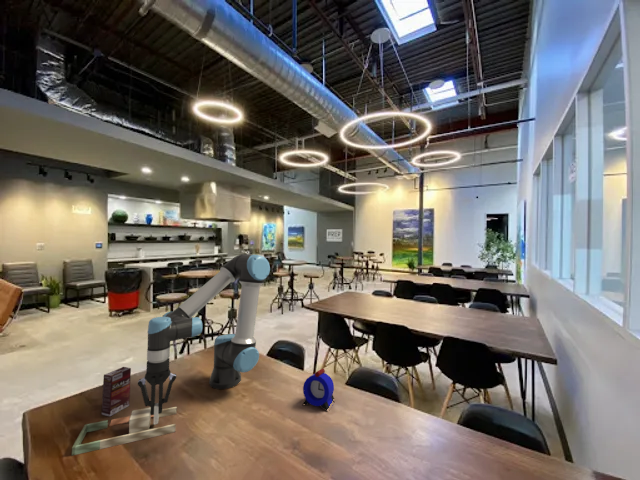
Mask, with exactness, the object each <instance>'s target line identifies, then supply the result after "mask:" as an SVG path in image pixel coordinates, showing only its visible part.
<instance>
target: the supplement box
mask: <svg viewBox="0 0 640 480" xmlns="http://www.w3.org/2000/svg"><path fill="white" fill-rule="evenodd" d="M131 371H132V368H131V367H126V366H122V367H120V368H117V369H114V370H112V371H110V372H108V373H105V374H103V384H102V399H101V401H102V402H101V415H102V416H106V417H111V416H113V415H115V414H117V413H120V411H121V410H124V409H126V408H127V407H129V406H130V393H131V375H132V373H131Z"/></svg>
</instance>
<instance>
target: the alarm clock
mask: <svg viewBox="0 0 640 480" xmlns="http://www.w3.org/2000/svg"><path fill="white" fill-rule="evenodd" d="M334 386H335V385H334V381H333V379H332V377H331V376H330V375H328V373H326V370H325V368H321V369H319V370H317V371H316V372H314V373H313V374H312V375H310V376H309V377H307V378H306V379H305V381H304V382H303V386H302V393H303V396H304V399H305V400H304V401H303V403H302V405H303V404H305V405H304V406H307V405H312V406H314V407H320V408H321V409H323V410H325V409H326V410H327V409H328V408H329V406H330V404H331V403H332V401H333V399H335V398H334V391H335V387H334ZM326 410H325V411H326Z"/></svg>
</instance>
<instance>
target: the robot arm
mask: <svg viewBox="0 0 640 480" xmlns="http://www.w3.org/2000/svg"><path fill="white" fill-rule="evenodd" d="M219 269H220V270H219V271H218V272H217V273H216V274H215V275H214V276H212V278H210V279H209V280H208V281H206V283H205V284H203V286H201V287H200V288H199V289H198V290H196V291H195V292H194V293H193V294H192V295H190V297H188V298H187V299H186V300H185V301H184V302H183V303H181V304H180V305H179V306H178V307H176V309H174V310H173V311H168V312H166V313H164V314H163V315H162V316H158V317H157V316H156V317H153V318H151V319H150V320H149V321H148V327H147V349H146V373H145V374H144V377H142V378H139V379H138V381H137V386H138V387H139V388H140V390H141V395H142V398H143V403H144V406H145V407H149V408H150V407H151V413H150V414H151V415H154V417H153V425H154V426H155V425H158V424H159V418H160V417H159V414H160V413H162V409H163V405H164V404H165V403H168V402H169V401H168V400H169V398H170V394H171V390H172V387H173V383H174V382H175V381H176V379H177V374H176V373H172V372H171V370H170V355H171V342H173V341H174V342H175V341H178V340H184V339H189V338H193V337H197V336H199V335H201V334H202V332H203V321H202V319H201V317H198V316H197V317H196V316H195V315H196V314H197V313H199V312H200V311H201V310H202V309H203V308H204V307H205V306H206V305H207V304H208V303H209V302H210V301H211V300H213V299H214V298H215V297H216V296H217V295H218V294H219V293H220V292H221V291H223V289H225V288H226V287H227V286H228V285H229V284H230V283H234V282H235V281H237V280H238V279H239V280H238V281H239V283H240V285H241V288H240V296H239V297H240V298H239V304H238V311H237V318H236V324H235V325H236V327H235V333H229V334H222V335H219V336H216V337H215V338H214V342H213V343H214V344H213V349H214V350H213V368H212V370H211V371H212V372H211V373H210V377H209V382H208V383H209V384H210V385H209V386H210V387H211V388H212V387H213V388H212V389H215V388H216V389H217V390H226V388H227V389H231V388H234V387H236V386H238V385H239V384H240V383H241V382H240V381H242V374H241V373H247V372H249V371H251V370H253V368H255V366H256V365H257V363H258V362H259V360H260V353H259V350H258V348H256V345H257V340H256V338H255V337H254V336H255V335H254V334H255V330H256V329H255V326H256V321H257V320H256V319H257V312H258V311H257V310H258V305H259V298H260V297H259V296H260V289H261V286H262V285H263V284H264V282H265V279H267V277H268V276H269V274H270V271H271V267H270V262H269V260H268V259H267V258H266V257H265V256H264V255H258V254H246V253H240V254H239V255H236V256H235V257H233V258H231V259H230V260H228V261H227V262H226V263H224V265H223V266H221V267H220V268H219ZM168 378H169V379H168ZM167 379H168V380H169V381H168V386H167V388H166V392H165V394H164V383H165V382H166V381H167ZM146 382H147V383H148V384H149V386H150V389H151V391H150V396H149V393H148V390H147V385H146ZM239 382H240V383H239ZM238 383H239V384H238ZM237 384H238V385H237ZM156 385H158V402H156V387H157V386H156ZM235 385H236V386H235ZM233 386H234V387H233ZM230 387H231V388H230ZM163 395H164V396H163Z"/></svg>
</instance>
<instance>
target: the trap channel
mask: <svg viewBox="0 0 640 480" xmlns="http://www.w3.org/2000/svg"><path fill="white" fill-rule="evenodd" d="M177 408H178V407H177V406H172V407H169V408H162V413H160V414H159V418H162V417H168V416H173V415H177ZM130 417H131V415H129V416H123V417H118V418H114V419H111V421H110V423H108V421H109V420H108V419H106V420H100V421H97V422H91V423H86V424H84V426H83V428H82V429H81V431H80V433H79V434H78V436H77V438H76V439H75V441H74V443H73V445H72V447H71V456H76V455H80V454H84V453H85V454H86V453H89V452H93V451H97V450H103V449H107V448H111V447H116V446H119V445H125V444H129V443H132V442H138V441H141V440H147V439H150V438H155V437H158V436H165V435H168V434H172V433H175V432H176V423H173V424H168V425H164V426H161V427H160V426H159V427H155V428H149V430H145V431H140V432H136V433H131V434H129V433H128V434H123V435H118V436H113V437H109V438H105V439H99V440H95V441H91V442H86V443H83V440H84V438H85V436H86V435H87V433H90V432H95V431H100V430H106V429H108V425H109V427H113V426H118V425H123V424H129V420H130ZM150 419H154V415H151V418H150Z"/></svg>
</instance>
